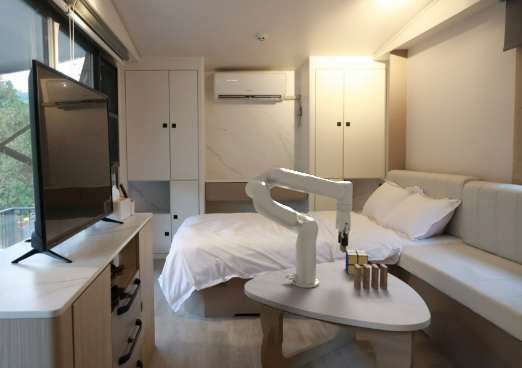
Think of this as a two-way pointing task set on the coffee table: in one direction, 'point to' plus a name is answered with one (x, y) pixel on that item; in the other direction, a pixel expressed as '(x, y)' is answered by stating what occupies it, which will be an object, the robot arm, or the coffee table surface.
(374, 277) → the domino
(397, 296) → the coffee table surface
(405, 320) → the coffee table surface
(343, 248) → the domino
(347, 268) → the puzzle cube
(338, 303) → the coffee table surface
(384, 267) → the domino
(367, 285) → the domino
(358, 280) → the domino
